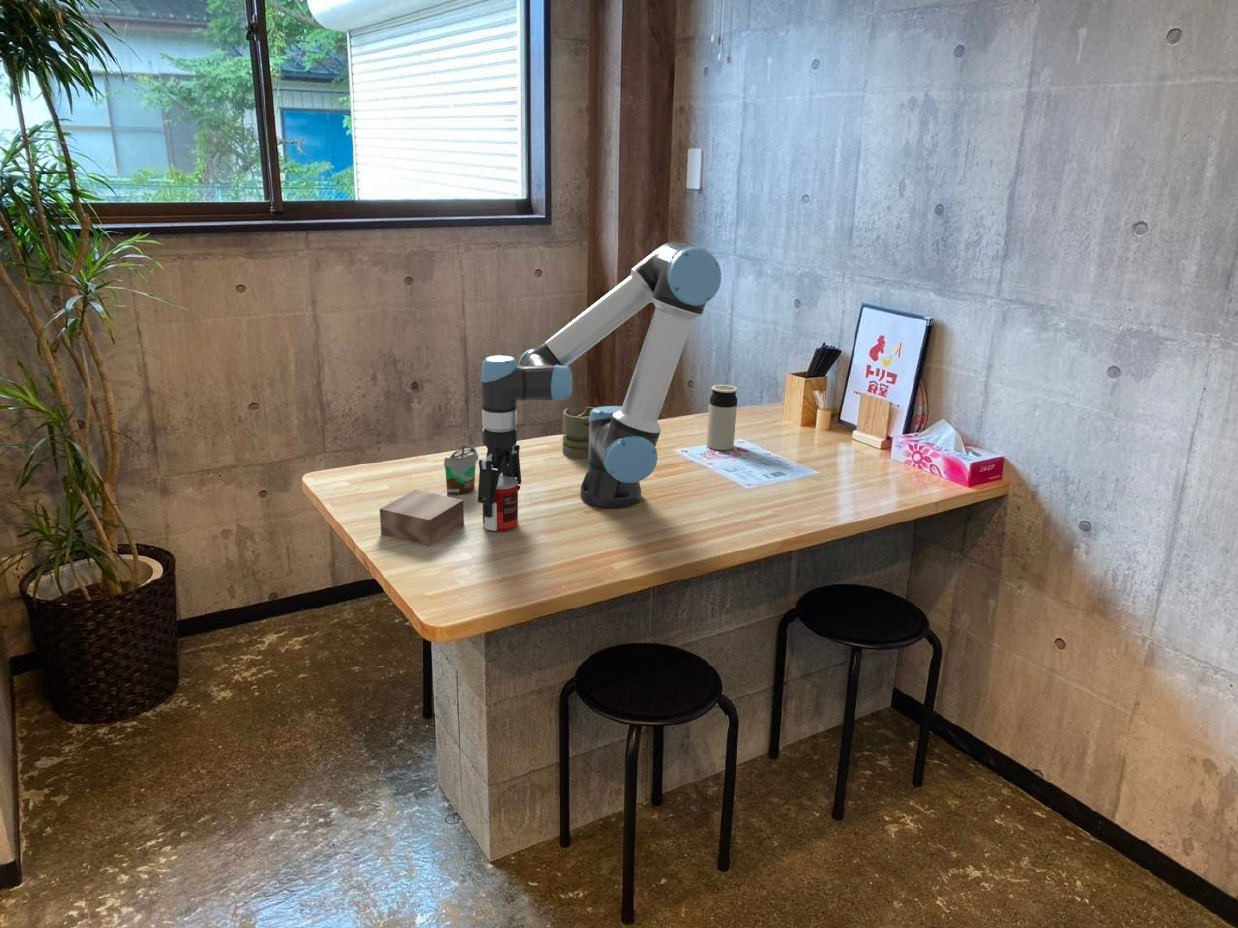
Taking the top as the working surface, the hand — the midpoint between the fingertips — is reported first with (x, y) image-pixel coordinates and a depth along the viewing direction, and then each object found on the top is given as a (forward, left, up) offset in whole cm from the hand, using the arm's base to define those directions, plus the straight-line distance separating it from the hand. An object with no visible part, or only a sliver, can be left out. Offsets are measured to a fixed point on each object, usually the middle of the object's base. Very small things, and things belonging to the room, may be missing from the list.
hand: (500, 522), depth 201 cm
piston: (+6, -55, -1) cm, 55 cm away
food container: (+19, -15, -1) cm, 24 cm away
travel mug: (-27, -80, -1) cm, 84 cm away
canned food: (0, 0, -1) cm, 1 cm away
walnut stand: (+14, +10, -1) cm, 17 cm away
